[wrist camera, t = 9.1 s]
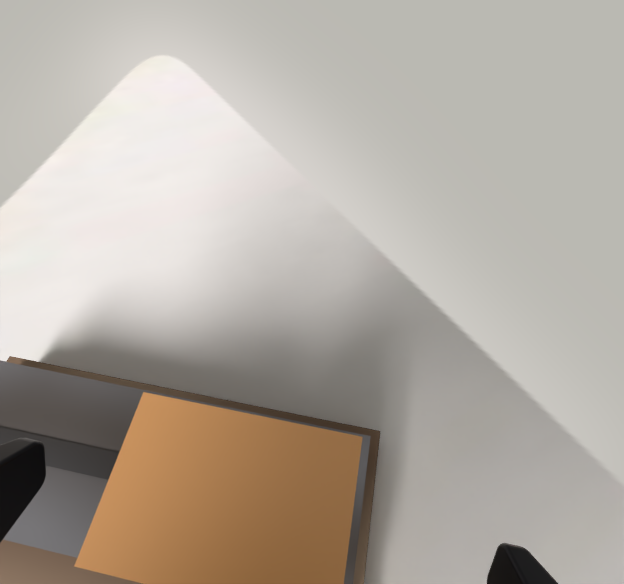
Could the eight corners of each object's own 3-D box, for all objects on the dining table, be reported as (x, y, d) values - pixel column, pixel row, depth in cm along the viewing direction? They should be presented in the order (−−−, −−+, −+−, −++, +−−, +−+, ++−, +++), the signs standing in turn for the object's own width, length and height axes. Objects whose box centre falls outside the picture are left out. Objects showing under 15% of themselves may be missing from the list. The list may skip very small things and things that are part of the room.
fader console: (319, 909, 10) (323, 1047, 8) (-179, 754, 12) (-323, 826, 9) (374, 437, 16) (387, 423, 13) (32, 367, 17) (-19, 342, 15)
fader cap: (316, 573, 11) (329, 695, 4) (213, 549, 11) (52, 621, 4) (334, 460, 12) (367, 398, 5) (242, 440, 13) (156, 357, 6)
